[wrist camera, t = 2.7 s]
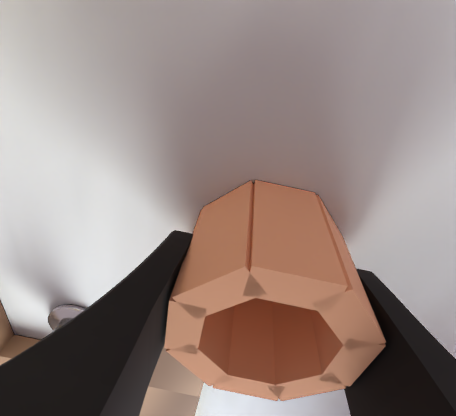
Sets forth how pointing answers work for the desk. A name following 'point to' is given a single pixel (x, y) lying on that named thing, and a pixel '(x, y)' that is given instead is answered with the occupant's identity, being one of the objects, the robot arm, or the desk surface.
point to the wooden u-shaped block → (158, 387)
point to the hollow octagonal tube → (271, 298)
